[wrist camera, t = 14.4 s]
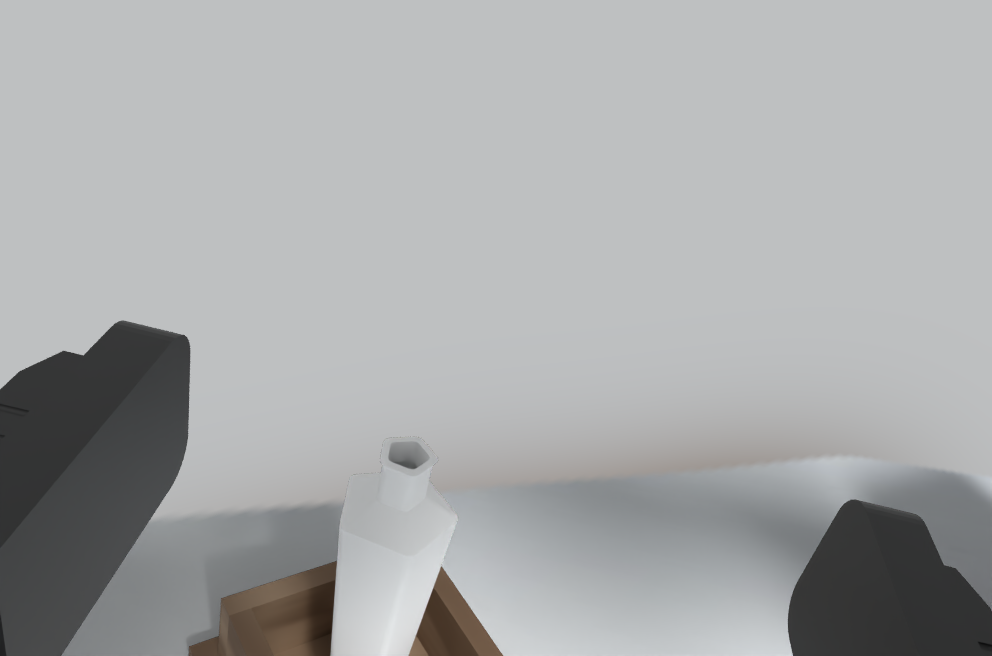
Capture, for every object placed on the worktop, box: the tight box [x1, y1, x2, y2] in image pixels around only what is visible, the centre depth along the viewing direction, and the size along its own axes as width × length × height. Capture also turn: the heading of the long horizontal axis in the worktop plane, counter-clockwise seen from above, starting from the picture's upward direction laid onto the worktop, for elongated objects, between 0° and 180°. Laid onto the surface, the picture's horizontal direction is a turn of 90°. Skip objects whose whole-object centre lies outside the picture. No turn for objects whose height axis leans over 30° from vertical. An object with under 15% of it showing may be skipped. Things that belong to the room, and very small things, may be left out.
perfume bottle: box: [330, 437, 458, 656], centre depth 35 cm, size 5×4×15 cm
